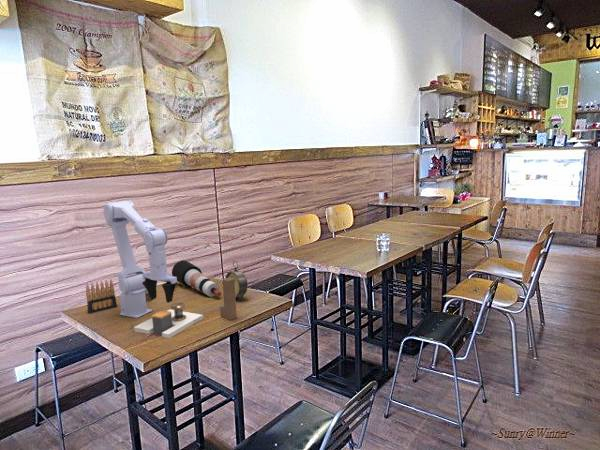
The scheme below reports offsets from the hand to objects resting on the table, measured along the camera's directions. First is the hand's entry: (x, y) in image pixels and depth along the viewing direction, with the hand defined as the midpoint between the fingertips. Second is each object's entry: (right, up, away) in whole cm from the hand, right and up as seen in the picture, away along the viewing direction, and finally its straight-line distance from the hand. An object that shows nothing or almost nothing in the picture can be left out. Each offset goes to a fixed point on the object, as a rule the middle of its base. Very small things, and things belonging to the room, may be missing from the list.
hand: (161, 300), depth 155 cm
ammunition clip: (-30, -7, +19) cm, 36 cm away
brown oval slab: (-19, -5, +32) cm, 37 cm away
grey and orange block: (+2, -10, -4) cm, 11 cm away
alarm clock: (+24, -4, +26) cm, 35 cm away
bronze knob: (+5, -7, +3) cm, 9 cm away
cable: (+5, -3, +39) cm, 39 cm away
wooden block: (+23, -8, +7) cm, 25 cm away
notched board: (+2, -9, +1) cm, 9 cm away
